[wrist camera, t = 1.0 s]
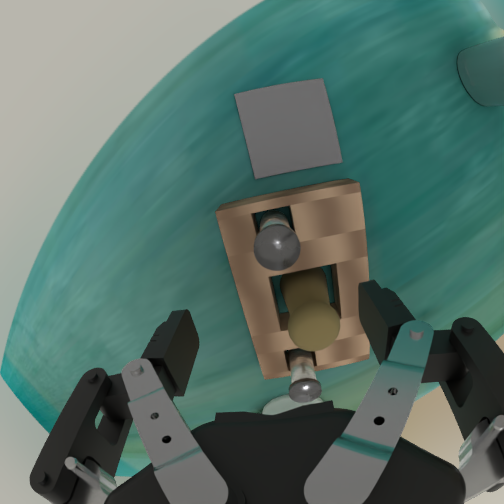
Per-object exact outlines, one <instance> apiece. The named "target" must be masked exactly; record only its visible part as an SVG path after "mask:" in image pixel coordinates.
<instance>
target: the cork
mask: <svg viewBox="0 0 504 504" xmlns="http://www.w3.org/2000/svg"><path fill="white" fill-rule="evenodd" d="M280 289H281V292H282V295H283V298H284V300H285V303H286V306H287V308H288V311H289V314H290V318H289V322H288V332H289V337H290V338H291V340H292V341H293V343H294V344H295V345H296V346H298V347H299V348H301V349H303V350H306V351H319V350H323V349H325V348H327V347H329V346H330V345H331V344H332V343H333V342H334V341H335V339H336V338H337V336H338V335H339V331H340V318H339V316H338V314H337V312H336V310H335V309H334V308H333V307H331V306H330V303H329V295H328V288H327V281H326V275H325V273H324V271H323V270H322V269H321V268H320V267H315V268H310V269H305V270H301V271H296V272H291V273H286V274H283V275H282V277H281V279H280Z"/></svg>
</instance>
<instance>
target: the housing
mask: <svg viewBox="0 0 504 504" xmlns="http://www.w3.org/2000/svg"><path fill="white" fill-rule="evenodd" d="M284 206H289V210H290V215H291V220H292V225H293V230H294V232H295V233H296V234H297V236H298V239H299V241H300V246H301V251H300V255H299V258H298V259H297V261H296V262H295V263H294V264H293V265H292V266H291V267H289V268H287V269H285V270H281V271H273V270H269V269H266V268H264V267H263V266H262V265H260V264H259V263H258V261H257V260H256V258H255V255H254V249H253V248H254V241H255V238H256V236H257V234H258V233H259V230H258V225H257V221H256V217H255V213H256V212H261V211H265V210H270V209H275V208H280V207H284ZM215 213H216V217H217V220H218V224H219V228H220V231H221V235H222V238H223V242H224V246H225V249H226V253H227V256H228V260H229V263H230V267H231V270H232V274H233V277H234V281H235V284H236V287H237V291H238V294H239V298H240V301H241V304H242V308H243V311H244V314H245V318H246V321H247V324H248V328H249V331H250V334H251V337H252V341H253V344H254V347H255V350H256V354H257V357H258V360H259V363H260V366H261V370H262V373H263V376H264V379H272V378H279V377H285V376H291V370H290V359H289V352H287V351H286V350H290V349H296V348H299V347H298V346H296V345H295V344H294V343H293V341H292V340H291V338H290V337H289V332H288V322H289V318H290V314H289V312H286V313H279V309H278V304H277V300H276V296H275V291H274V287H273V282H272V278H271V276H276V275H281V274H286V273H291V272H296V271H301V270H305V269H310V268H315V267H320V266H325V265H329V264H331V271H332V279H333V288H334V298H335V303H330V306H331V307H333V308H334V309H335V310H336V312H337V314H338V316H339V318H340V331H339V335H338V336H337V338H336V339H335V341H334V342H333V343H332V344H331V345H330V346H329V347H327V348H325V349H323V350H319V351H311V354H312V359H313V364H314V370H315V371H319V370H324V369H328V368H333V367H338V366H342V365H346V364H350V363H354V362H358V361H362V360H366V359H369V348H370V342H369V340H368V338H367V336H366V334H365V332H364V329H363V327H362V325H361V323H360V319H359V311H358V285H359V283H361V282H366V281H369V270H368V255H367V242H366V231H365V222H364V213H363V205H362V198H361V190H360V184H359V182H357V181H354V180H351V179H342V180H336V181H331V182H325V183H320V184H314V185H309V186H304V187H299V188H294V189H289V190H284V191H279V192H274V193H269V194H265V195H260V196H255V197H251V198H247V199H242V200H238V201H233V202H229V203H225V204H221V205H220V207H219V208H218V209H217V210H216V211H215Z"/></svg>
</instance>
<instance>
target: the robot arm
mask: <svg viewBox="0 0 504 504" xmlns="http://www.w3.org/2000/svg"><path fill="white" fill-rule="evenodd" d="M457 65H458V71H459V75H460V78H461V80H462V82H463V85H464V87H465V88H466V90H467V91H468V93H469V94H470V95H471V97H472V98H473V99H474V100H475V101H476V102H478V103H479V104H481V105H483V106H504V37H501V38H497V39H494V40H491V41H488V42H485V43H482V44H479V45H476V46H473V47H470V48H467V49H465V50H463V51H461V52H460V53H459V55H458V60H457ZM358 311H359V319H360V323H361V325H362V327H363V329H364V332H365V334H366V336H367V338H368V340H369V342H370V344H371V346H372V349H373V351H374V353H375V355H376V357H377V360H378V362H379V364H380V367H379V369H378V371H377V373H376V375H375V377H374V379H373V381H372V383H371V385H370V387H369V389H368V391H367V393H366V395H365V397H364V398H363V400H362V402H361V404H360V405H359V407H358V409H357V411H352V410H348V409H341V408H334V406H333V401H332V400H331V401H326V402H321V403H315V404H309V405H303V406H300V407H297V408H294V409H291V410H288V411H285V412H282V413H279V414H275V415H266V414H258V413H250V412H223V413H216V416H215V421H211V422H208V423H205V424H203V425H201V426H199V427H197V428H195V429H193V430H192V431H191V430H190V428H189V427H188V425H187V423H186V422H185V420H184V419H183V417H182V415H181V414H180V412H179V411H178V409H177V407H176V406H175V404H174V402H173V398H174V396H184V394H185V391H186V387H187V384H188V381H189V377H190V374H191V371H192V368H193V365H194V361H195V358H196V355H197V352H198V349H199V337H198V333H197V331H196V328H195V325H194V323H193V320H192V317H191V314H190V312H189V311H188V310H187V309H186V310H177V311H172V312H171V314H170V316H169V318H168V320H167V321H166V322H163V323H162V324H161V325H160V326H159V327H158V328H157V329H156V331H155V333H154V334H153V336H152V338H151V340H150V342H149V343H148V345H147V347H146V349H145V351H144V353H143V354H142V356H141V358H140V359H136V360H133V361H131V362H129V363H128V364H127V365H126V366H125V367H124V368H123V370H122V373H121V374H116V375H111V376H108V375H107V373H106V372H105V370H104V369H102V368H94V369H91V370H89V371H87V372H86V373H85V374H84V375H83V376H82V377H81V379H80V381H79V382H78V384H77V386H76V388H75V389H74V391H73V393H72V394H71V396H70V398H69V400H68V401H67V403H66V405H65V407H64V408H63V410H62V412H61V414H60V416H59V417H58V419H57V421H56V423H55V425H54V427H53V429H52V431H51V433H50V434H49V437H48V438H47V440H46V442H45V444H44V446H43V448H42V450H41V453H40V455H39V457H38V459H37V461H36V463H35V465H34V468H33V470H32V472H31V474H30V485H31V487H32V489H33V490H34V491H35V492H37V493H38V494H40V495H41V496H43V497H44V498H46V499H47V500H49V501H50V502H51V503H52V504H464V503H465V502H467V501H469V500H470V499H472V498H474V497H476V496H478V495H480V494H481V493H483V492H485V491H487V492H493V491H496V490H498V489H499V488H501V487H502V486H503V485H504V353H503V352H502V350H501V349H500V348H499V346H498V345H497V344H496V342H495V341H494V340H493V339H492V337H491V336H490V335H489V334H488V332H487V331H486V330H485V329H484V328H483V326H482V325H481V324H480V323H479V322H478V321H477V320H475V319H473V318H469V317H462V318H459V319H457V320H455V321H454V322H453V324H452V328H451V330H433V328H432V326H431V325H430V324H428V323H426V322H424V321H419V320H416V319H415V318H414V317H413V315H412V314H411V313H410V311H409V310H408V309H407V307H406V306H405V305H404V304H403V302H402V301H401V300H400V298H399V297H398V296H397V295H396V293H395V292H393V291H391V290H390V289H388V288H383V289H381V287H380V286H379V285H378V283H377V282H376V281H375V280H370V281H366V282H361V283H359V285H358ZM428 382H439V383H440V386H441V388H442V390H443V392H444V394H445V396H446V398H447V400H448V403H449V405H450V407H451V409H452V412H453V414H454V416H455V419H456V421H457V423H458V426H459V428H460V431H461V433H462V436H463V438H464V441H465V442H464V443H463V444H462V446H461V448H460V451H459V461H460V466H459V469H457V468H456V467H455V466H454V465H452V464H451V463H449V462H447V461H445V460H443V459H441V458H439V457H437V456H435V455H433V454H431V453H429V452H428V451H426V450H424V449H422V448H420V447H418V446H416V445H415V444H413V443H411V442H409V441H407V440H406V439H404V438H402V437H400V436H401V434H402V431H403V429H404V427H405V424H406V422H407V419H408V417H409V414H410V412H411V409H412V406H413V403H414V401H415V398H416V395H417V392H418V389H419V386H420V383H428ZM99 410H100V411H101V412H102V413H103V414H104V415H103V417H102V419H101V422H100V424H99V426H98V429H96V427H95V418H96V416H97V414H98V412H99ZM133 420H134V423H135V425H136V428H137V430H138V433H139V435H140V437H141V440H142V442H143V444H144V447H145V449H146V451H147V453H148V456H149V458H150V460H151V462H152V463H150V464H149V465H148V466H146V467H145V468H144V469H142V470H141V471H140V472H138V473H137V474H135V475H134V476H133V477H131V478H130V479H129V480H127V481H126V482H124V483H123V484H121V485H120V486H118V487H117V486H116V481H115V479H114V476H115V473H116V470H117V467H118V463H119V460H120V457H121V454H122V451H123V448H124V445H125V442H126V439H127V436H128V433H129V430H130V427H131V424H132V421H133Z"/></svg>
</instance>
